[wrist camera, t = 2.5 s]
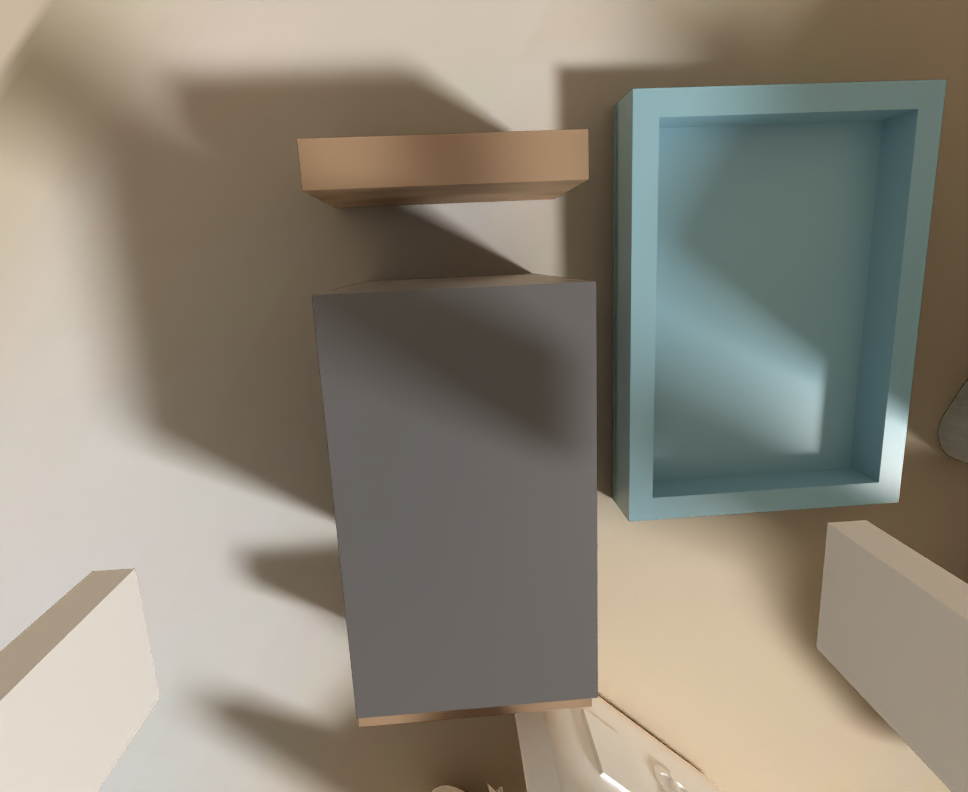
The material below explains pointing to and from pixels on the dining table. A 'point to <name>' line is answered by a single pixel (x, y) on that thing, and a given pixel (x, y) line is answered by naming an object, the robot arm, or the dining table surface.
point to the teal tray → (768, 292)
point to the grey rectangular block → (464, 487)
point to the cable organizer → (597, 755)
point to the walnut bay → (435, 180)
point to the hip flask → (956, 427)
